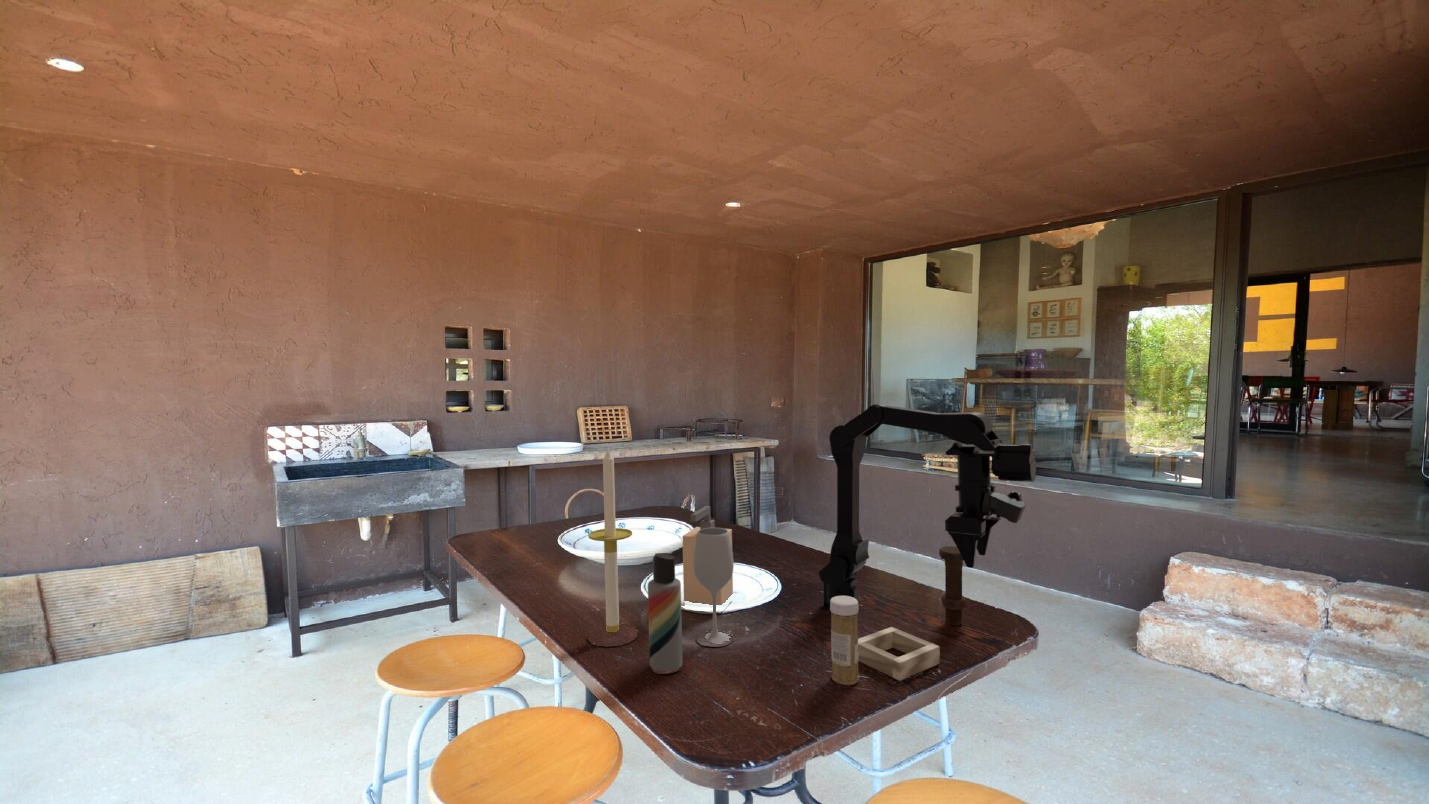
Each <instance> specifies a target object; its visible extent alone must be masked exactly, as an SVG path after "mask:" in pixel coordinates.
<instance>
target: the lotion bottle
mask: <svg viewBox="0 0 1429 804" xmlns="http://www.w3.org/2000/svg"><path fill="white" fill-rule="evenodd" d="M675 560H676V558H675V555H673V554H671V553H668V552H657V553H654V556H653V557H652V575H653V577H652V579H650V580H649V581H648V584H647V604H648V607H647V608H648V609H647V611H648V644H649V645H648V646H649V647H648V648H649V649H648V651H649V652H648V653H649V667H650V666H651V667H652V669H654V670H659V671H672V670H676V669H678V668H679V667H681V666H682V667H683V630H682V629H683V628H682V625H683V623H682V618H683V617H682V583H681V581H680V579H678V578H676V561H675Z"/></svg>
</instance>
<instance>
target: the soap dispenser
mask: <svg viewBox="0 0 1429 804" xmlns="http://www.w3.org/2000/svg"><path fill="white" fill-rule="evenodd" d="M702 519H703V520H702ZM698 521H700V522H699V526H696V527H694V528H692V529H691V530H690V531H688V532H686V533H685V534H683V535H682V575H683V579H682V581H683V602H684V601H689V602H692V603H702V604H709V605H713V602H712V594H711V592H710V591H709V590H708V589H706V588H705V587H704V586H703V585H702V584H701V583H700V582H699V581H698V580H697V578H696V575H695V573H694V552H695V543H696V537H697V532H698V531H699V530H701V529H704V528H716V526H715V525H716V524H715V521H716V520H715V519H711V506H710V505H705V506H703V507H701V508H700V509H697V510H696V511H695V512H693V513H691V514H690V522H691V523H692V522H693V523H697V522H698ZM726 529H727V530H728V531H729V535H730V540H731V546H732V547H733V534H732V533H733V529H731V528H726ZM733 577H734V575H733V574H732V576H731V579H730V580H729V581H728V583H727V584H726V585H725V586H724V587H723V588H722V589H720V590H719V591H718V593H717V596H716V605H722V604H723V603H725V602H726V600H728V598H729V597H730V596H731V595H732V594H733V595H734V579H733Z"/></svg>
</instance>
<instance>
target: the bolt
mask: <svg viewBox="0 0 1429 804" xmlns="http://www.w3.org/2000/svg"><path fill="white" fill-rule="evenodd" d="M938 551H939V552H938V555H939V556H940V559H941V560H944V567H945V568H944V569H945V570H944V571H945V572H944V575H945V578H944V579H945V580H944V581H945V582H944V583H945V590H944V591H945V593H943V594H941V604H942V606H943V607H944V610H945V623H946V624H947V623H948V625H949V626H960V624H961V625H962V624H963V610H964V609H965V608H967V599H966V597H965V596H964V595H963V565H964V560H963V558H962V556H961V554H960V552H959V550H958V548H957V546H952V545H951V546H947V545H946V546H942V547H940V548H939V550H938Z"/></svg>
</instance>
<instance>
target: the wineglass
mask: <svg viewBox="0 0 1429 804" xmlns="http://www.w3.org/2000/svg"><path fill="white" fill-rule="evenodd" d="M727 529H728V528H725V527H724V528H723V527H715V528H704V529H701V530H699V531H698V532H697V537H696V543H695V552H694V573H695V575H696V578H697V580H698V581H699V582H700V583H701V584H702V585H703V586H704V587H705V588H706V589H708V590H709V591H710V592H711V594H712V602H713V613H712V630H711V633H708V634H706V636H705V638H706V639H707V641H710V642H712V643H715V644H722V643H723V642H724V641H730V640H729V638H731V637H730V636H728V635H729V634H730V633H729V634H726V633H722V632H718V631H719V630H718V626H717V625H718V623H717V622H718V621H717V614H716V596H717V593H718V591H719V590H720V589H722V588H723V587H724V586H725V585H726V584H727V583H728V581H729V580H730V579H731V576H732V574H733V573H734V566H735V565H734V563H735V562H734V553H733V545H732V546H731V540H730V535H729V531H728V530H727ZM724 643H725V642H724Z"/></svg>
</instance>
